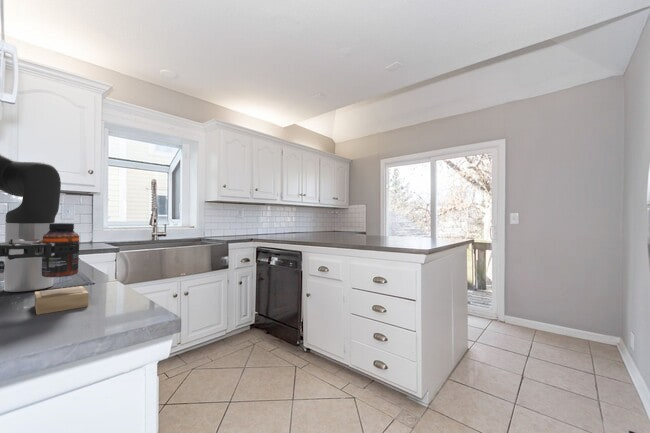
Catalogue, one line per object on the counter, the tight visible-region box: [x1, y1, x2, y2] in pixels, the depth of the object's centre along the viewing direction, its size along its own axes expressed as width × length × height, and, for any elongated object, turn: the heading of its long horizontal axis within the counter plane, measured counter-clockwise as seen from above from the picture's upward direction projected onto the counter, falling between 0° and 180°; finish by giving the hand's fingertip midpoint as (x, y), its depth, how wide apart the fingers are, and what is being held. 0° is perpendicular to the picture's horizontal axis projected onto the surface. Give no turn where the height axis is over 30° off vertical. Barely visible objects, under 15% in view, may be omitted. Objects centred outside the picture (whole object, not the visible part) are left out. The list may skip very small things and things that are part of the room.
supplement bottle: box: [41, 222, 80, 278], centre depth 64 cm, size 6×6×11 cm
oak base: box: [34, 285, 89, 315], centre depth 64 cm, size 8×8×3 cm
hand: (76, 246), depth 66 cm, fingers closed on supplement bottle, 6 cm apart
